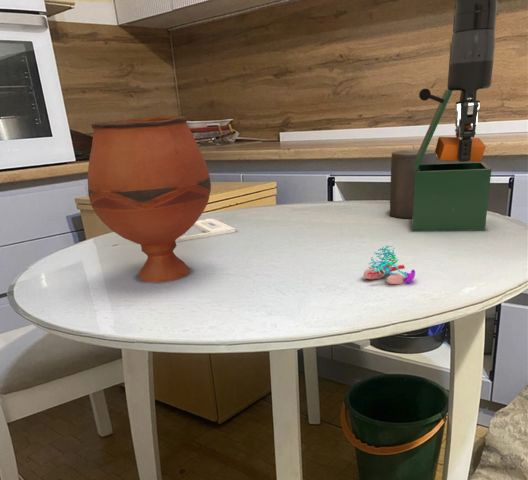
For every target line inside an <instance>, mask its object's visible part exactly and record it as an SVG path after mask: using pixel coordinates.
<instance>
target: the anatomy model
mask: <svg viewBox="0 0 528 480" xmlns="http://www.w3.org/2000/svg"><path fill="white" fill-rule="evenodd" d="M392 247H393V245H385V246H382V247H380V248H379V249H378V250H377V251H378V252H377V251H374V253H373V254H374V256H375V255H376V256H377V257H375V258H374V257H373V256H372V257H370V260H371V261H370V262H369V263H368V265H370V266H368V268H367V269H366V270H365V271H364V272H363V275H362V277H363V279H366V280H380V279H382V278H384V277H386V283H387V284H389V285H401V284H404V283H405V284H407V285H408V284H411V283H412V282H413V280H414V279H415V276H416V270H415V269H411V270H410V272H407V271H405V272H404V271H401V270H405V268H406V267H405V265H404V264H399V265H397V262H399V259H398V258H397V256H396V253H395V252H394V249H395V247H393V248H392ZM391 248H392V249H391ZM382 256H383V257H382ZM377 258H378V259H379V260H377ZM395 271H396V272H399V273H394V272H395ZM400 273H401V274H400ZM387 275H389V276H387Z"/></svg>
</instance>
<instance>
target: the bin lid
mask: <svg viewBox="0 0 528 480" xmlns="http://www.w3.org/2000/svg"><path fill="white" fill-rule="evenodd" d="M453 92H454V91H451V90H448V89H445V90H444V93H443V95H442V96H441V97H439V96H436V95H434V94H431V90H430V89H429V88H422V89H420V91H419V92H418V98H419V99H420V100H421V101H428V100H433V101H436V102H438V103H439V104H438V106H437V108H436V111H435V113H434V115H433V117H432V120H431V122H430V124H429V126H428V129H427V131H426V132H425V135H424V137H423V140H422V142H421V144H420V147H419V149H418V150H419V151H418V153H417V156H416V158H415V160H414V170H417V169H418V167H419V165H420V163H421V160H422V158H423V156H424V154H425V152H426V150H428V147H429V144H430V143H431V141H432V139H433V136H434V133H435V132H436V129H437V127H438V125H439V123H440V120H441V118H442V116H443V114H444V112H445V109H446V107H447V105H448V102H449V100H450V98H451V96H452V94H453Z"/></svg>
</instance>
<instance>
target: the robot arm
mask: <svg viewBox="0 0 528 480" xmlns="http://www.w3.org/2000/svg"><path fill="white" fill-rule="evenodd" d="M497 15H498V0H454V13H453V25H452V35H451V36H452V37H451V41H450V42H451V43H450V48H449V60H448V61H449V62H448V75H447V85H446V86H447V90H451V91H453V92H455V91H456V92H457V91H459V92H460V96H459V100H458V101H455V105H454V111H455V120H454V125H455V129H454V130H455V131H454V132H455V137H458V139H459V150H458V161H457V162H458V163H466V162H471V161H470V158H471V147H472V140H473V138H475V136H476V128H477V124H478V118H479V117H478V116H479V115H478V113H479V110H480V107H481V106H480V105H481V101H480V100H479V99H477V91H478V90H484V89H489V88H490V87H491V86H492V80H493V79H492V77H493V69H494V59H495V49H496V23H497ZM460 140H462V141H460Z"/></svg>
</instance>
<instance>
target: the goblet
mask: <svg viewBox="0 0 528 480" xmlns="http://www.w3.org/2000/svg"><path fill="white" fill-rule="evenodd" d="M187 122H188V118H187V117H186V116H184V115H161V116H148V117H142V118H135V119H134V118H132V119H125V120H115V121H103V122H101V121H100V122H99V121H98V122H92V123H91V129H92V130H93V133H92V141H91V149H90V152H89V159H88V167H87V194H88V198H89V201H90V202H89V203H90V205H91V207H92V209H93V211H94V213H95V214H96V216H97V217H98V219H100V221H101V222H102V223H103V224H104V225H105V226H106V227H107V228H108V229H109V230H111V231H112V232H114V233H115V234H116V235H117V236H119V237H121V238H123V239H125V240H127V241H129V242H132V243H134V244H136V245H137V244H138V245H140V248H141V252H142V253H144V254H145V255H146V256H147V259H146V261H145V262H144V263H143V266H142V267H141V270H140V271H139V274H138V279H139V280H140V281H143V282H149V283H163V282H170V281H175V280H179V279H182V278H184V277H187V275H189V274H190V273H191V269H190V267H189V266H188V264H187V263H185V262H184V261H183V260H182V259H180V258H179V257H178V256H177V255H176V254H175V252H174V250H175V249H176V247H177V242H175V240H176V239H177V238H179V237H183V235H185V234H186V233H187V232H188V231H189V230H190V229H191V228H193V227H194V226H193V225H194V224H195V223H196V221H199V220H200V218H201V216H202V214H203V213H204V212H205V210H206V208H207V205H208V203H209V200H210V195H211V190H212V183H211V177H210V176H211V175H210V173H209V168H208V164H207V162H206V160H205V157H204V155H203V152H202V151H201V148H200V146H199V145H198V143H197V141H196V138H195V137H194V135H193V133H192V131H191V128H190V127H189V125H188V123H187Z"/></svg>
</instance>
